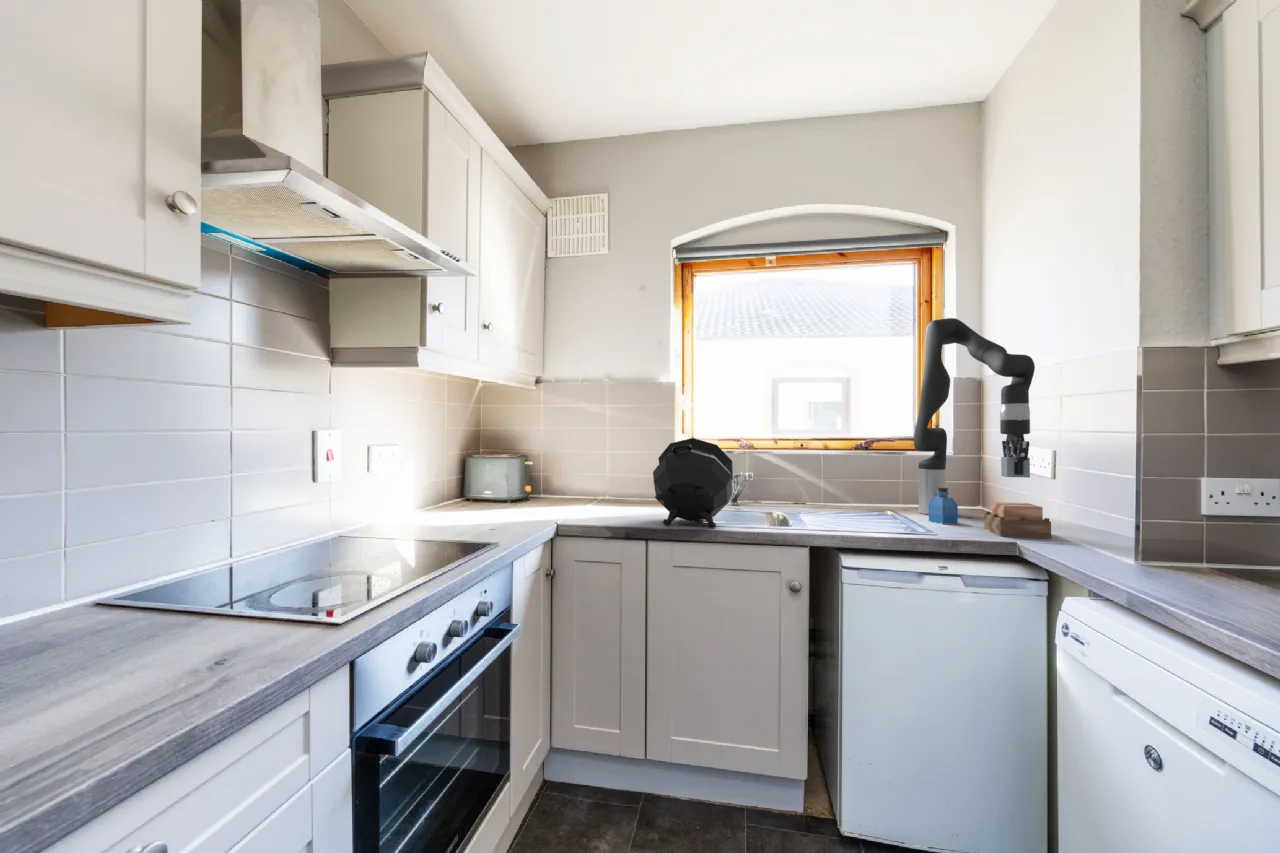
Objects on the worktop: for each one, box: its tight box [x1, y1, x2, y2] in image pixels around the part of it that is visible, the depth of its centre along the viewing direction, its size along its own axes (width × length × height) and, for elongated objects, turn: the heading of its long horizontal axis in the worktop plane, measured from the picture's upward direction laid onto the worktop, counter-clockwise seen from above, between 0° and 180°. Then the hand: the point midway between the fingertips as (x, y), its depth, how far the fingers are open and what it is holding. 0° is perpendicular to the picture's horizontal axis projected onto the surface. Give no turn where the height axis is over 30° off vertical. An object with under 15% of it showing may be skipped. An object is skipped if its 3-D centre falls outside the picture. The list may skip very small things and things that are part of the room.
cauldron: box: [652, 437, 734, 529], centre depth 179 cm, size 28×28×24 cm
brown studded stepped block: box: [983, 501, 1052, 540], centre depth 163 cm, size 13×13×9 cm
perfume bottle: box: [928, 487, 959, 525], centre depth 185 cm, size 6×6×12 cm
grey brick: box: [1000, 456, 1031, 479], centre depth 164 cm, size 4×6×6 cm
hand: (1015, 473), depth 164 cm, fingers closed on grey brick, 4 cm apart
